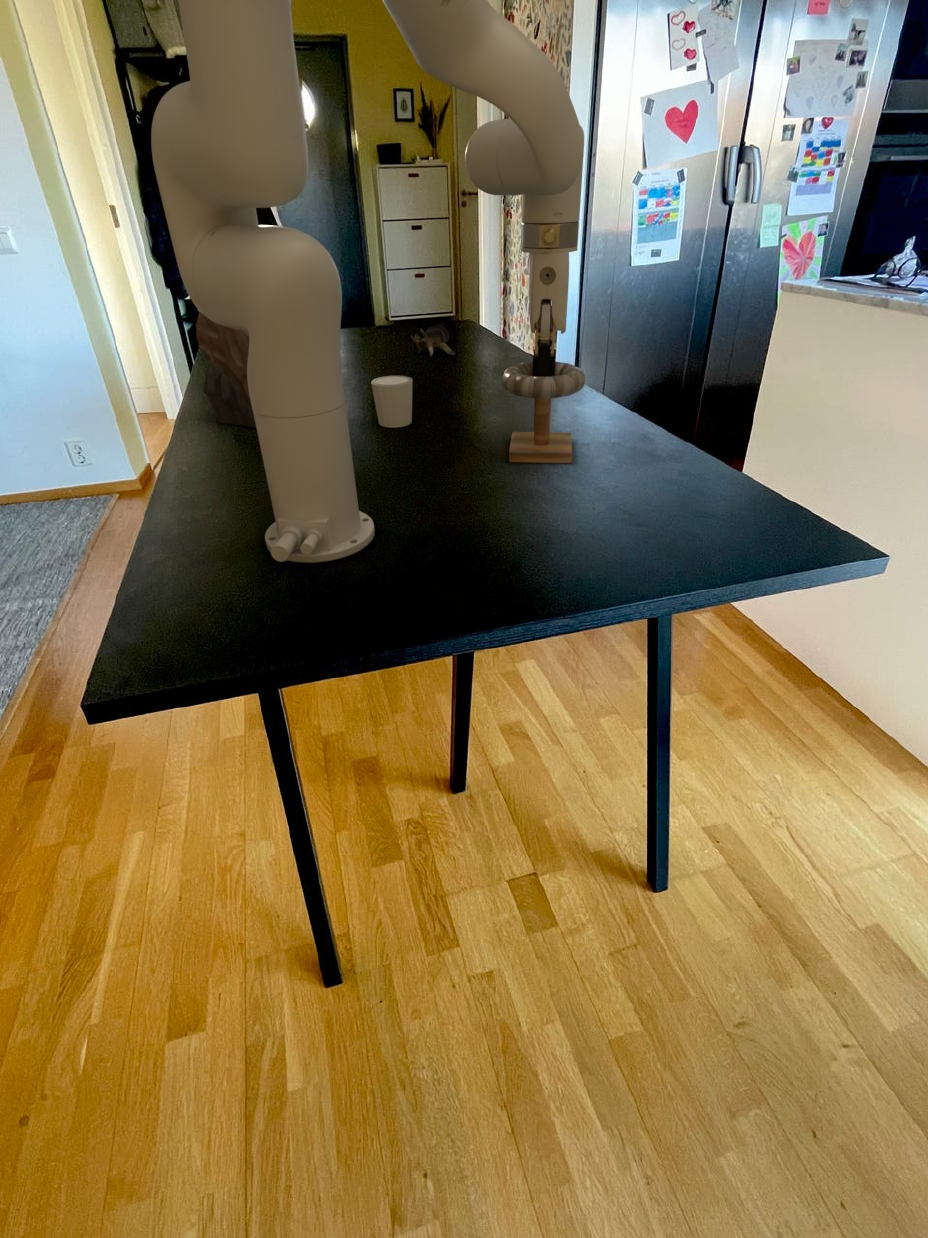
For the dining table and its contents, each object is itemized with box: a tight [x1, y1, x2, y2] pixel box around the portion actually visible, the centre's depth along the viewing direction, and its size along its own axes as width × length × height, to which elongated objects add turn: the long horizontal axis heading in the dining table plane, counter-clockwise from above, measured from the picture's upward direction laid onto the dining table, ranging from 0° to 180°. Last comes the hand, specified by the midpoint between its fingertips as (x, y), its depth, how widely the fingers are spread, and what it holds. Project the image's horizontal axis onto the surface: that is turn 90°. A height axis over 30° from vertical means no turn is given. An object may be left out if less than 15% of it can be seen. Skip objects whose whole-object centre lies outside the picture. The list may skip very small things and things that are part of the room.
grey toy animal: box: [410, 324, 456, 357], centre depth 153 cm, size 8×7×9 cm
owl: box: [195, 311, 257, 429], centre depth 113 cm, size 13×13×20 cm
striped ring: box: [501, 360, 586, 400], centre depth 94 cm, size 12×12×3 cm
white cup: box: [370, 375, 414, 429], centre depth 111 cm, size 7×7×7 cm
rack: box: [508, 398, 573, 464], centre depth 97 cm, size 9×9×10 cm
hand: (543, 379), depth 98 cm, fingers closed on striped ring, 3 cm apart
